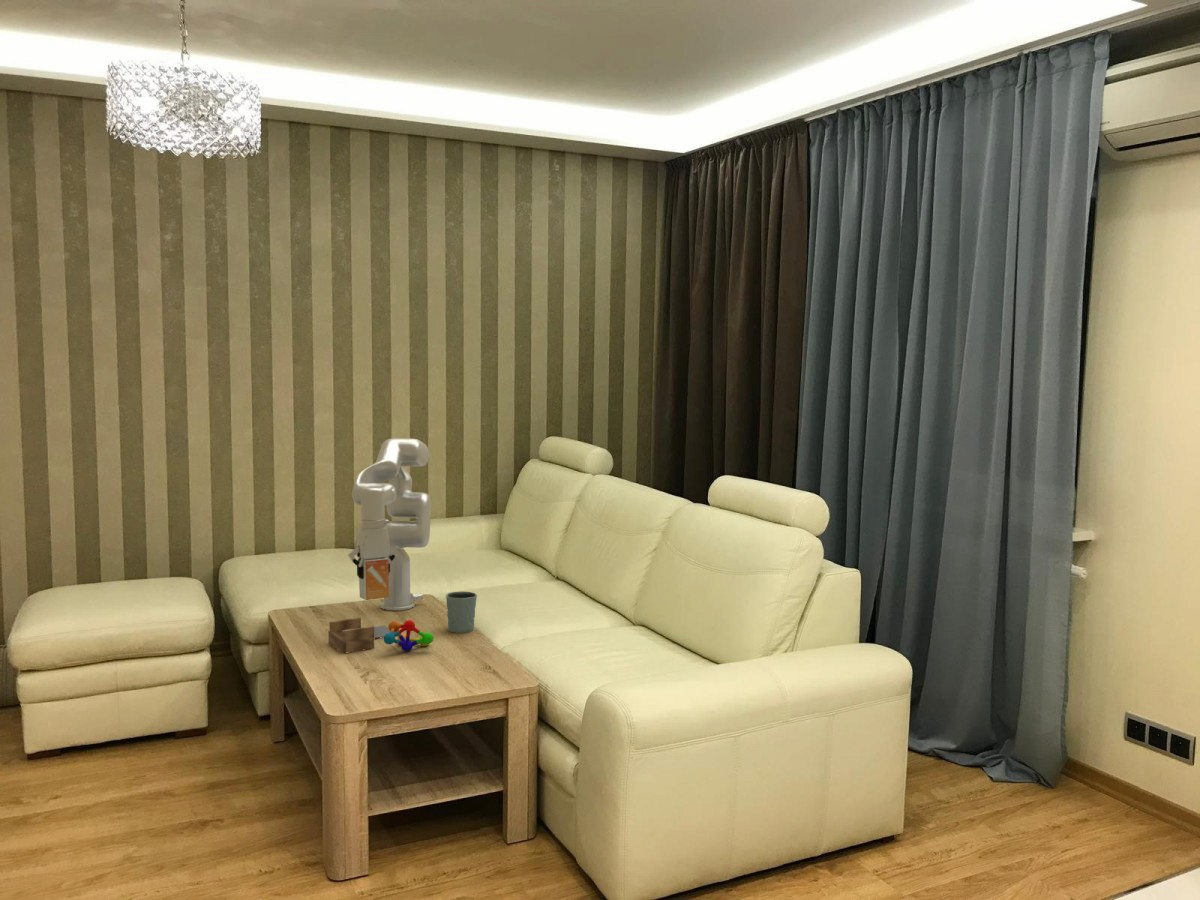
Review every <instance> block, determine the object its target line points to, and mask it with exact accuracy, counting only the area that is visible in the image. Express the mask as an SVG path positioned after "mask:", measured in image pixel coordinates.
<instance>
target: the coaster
mask: <svg viewBox="0 0 1200 900" xmlns="http://www.w3.org/2000/svg"><path fill="white" fill-rule="evenodd" d="M388 627H389V626H387V625H378V626H374V638H380V637H384V636H385V634H387V633H390V630H389V628H388ZM394 633H395V632H394ZM380 639H381V638H380Z"/></svg>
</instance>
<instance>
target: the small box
mask: <svg viewBox="0 0 1200 900" xmlns="http://www.w3.org/2000/svg"><path fill="white" fill-rule="evenodd" d="M362 567H364V578H363V579H361V578H359V577H358V581H359V582H358V583H359V584H358V587H359V590H358V591H359V598H360V599H363V600H365V601H371V600H379V599H384V598H389V572H388V559H387V558H378V559H368V560H365V561H364V563H363V565H362Z"/></svg>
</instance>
